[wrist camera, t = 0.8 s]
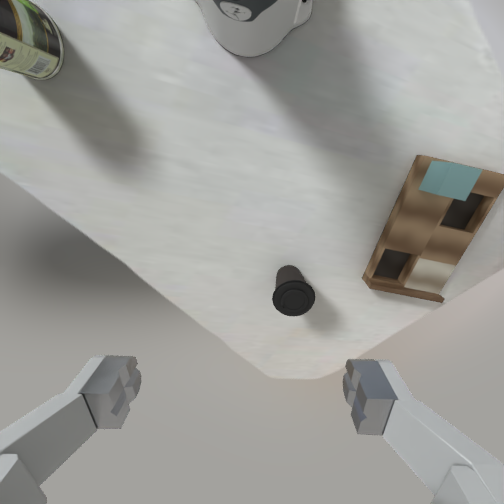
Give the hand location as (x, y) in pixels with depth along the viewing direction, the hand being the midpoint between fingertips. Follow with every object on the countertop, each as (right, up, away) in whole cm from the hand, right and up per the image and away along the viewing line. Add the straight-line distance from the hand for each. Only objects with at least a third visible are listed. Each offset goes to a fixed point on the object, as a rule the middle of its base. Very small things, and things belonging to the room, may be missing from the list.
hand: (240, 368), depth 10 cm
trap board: (+35, +9, +40) cm, 54 cm away
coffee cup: (+9, -1, +46) cm, 46 cm away
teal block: (+33, +18, +34) cm, 51 cm away
